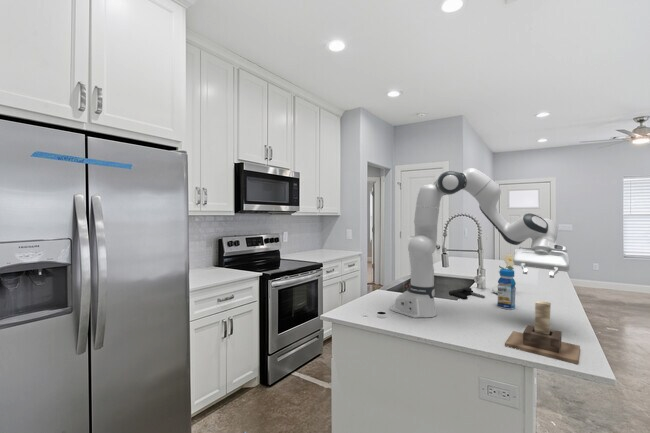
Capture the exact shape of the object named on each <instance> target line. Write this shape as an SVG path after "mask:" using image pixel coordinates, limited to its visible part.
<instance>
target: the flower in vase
mask: <svg viewBox="0 0 650 433" xmlns="http://www.w3.org/2000/svg"><path fill="white" fill-rule="evenodd" d="M513 257H514V254H510V253H506V254H505V255H504V256H503V261H504V263H505V264H506V267H505V268H504V267H502V266H500V265H499V269H510V270H515V268H514V266H515V265H514V263H513ZM497 272H498V273H499V274H500V270H498V271H497ZM499 276H500V275H499ZM500 277H501V276H500ZM500 277H499V278H500ZM498 285H499V283H498V284H497V285H496V286H495V285H494V287H493V288H491V291H492V292H493V293H494V294H496V295H498Z"/></svg>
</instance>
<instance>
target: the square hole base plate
mask: <svg viewBox="0 0 650 433" xmlns="http://www.w3.org/2000/svg"><path fill="white" fill-rule="evenodd" d="M562 335H563V334H562V331H561V330H555V329H551V328H550V335H545V334H540V333H536V332H535V325H531V324H527V325H526V327H525V328H524V330H523V332H519V331H514V330H513V331H512V332H511V333H510V334H509V336H508V338H507V339H506V341H505V342H504V347H507V346H509V347H508V348H511V347H512V348H511V349H515V348H516V349H515V350H519V349H520V350H519V351H522V352H527V353H531V354H535V355H538V356H543V357H547V358H552V359H555V360H559V361H564V362H566V363H571V364H576V365H579V360H580V359H579V358H580V351H581V350H580V349H581V345H578V344H574V343H571V342H570V343H568V342H566V341H562Z"/></svg>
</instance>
